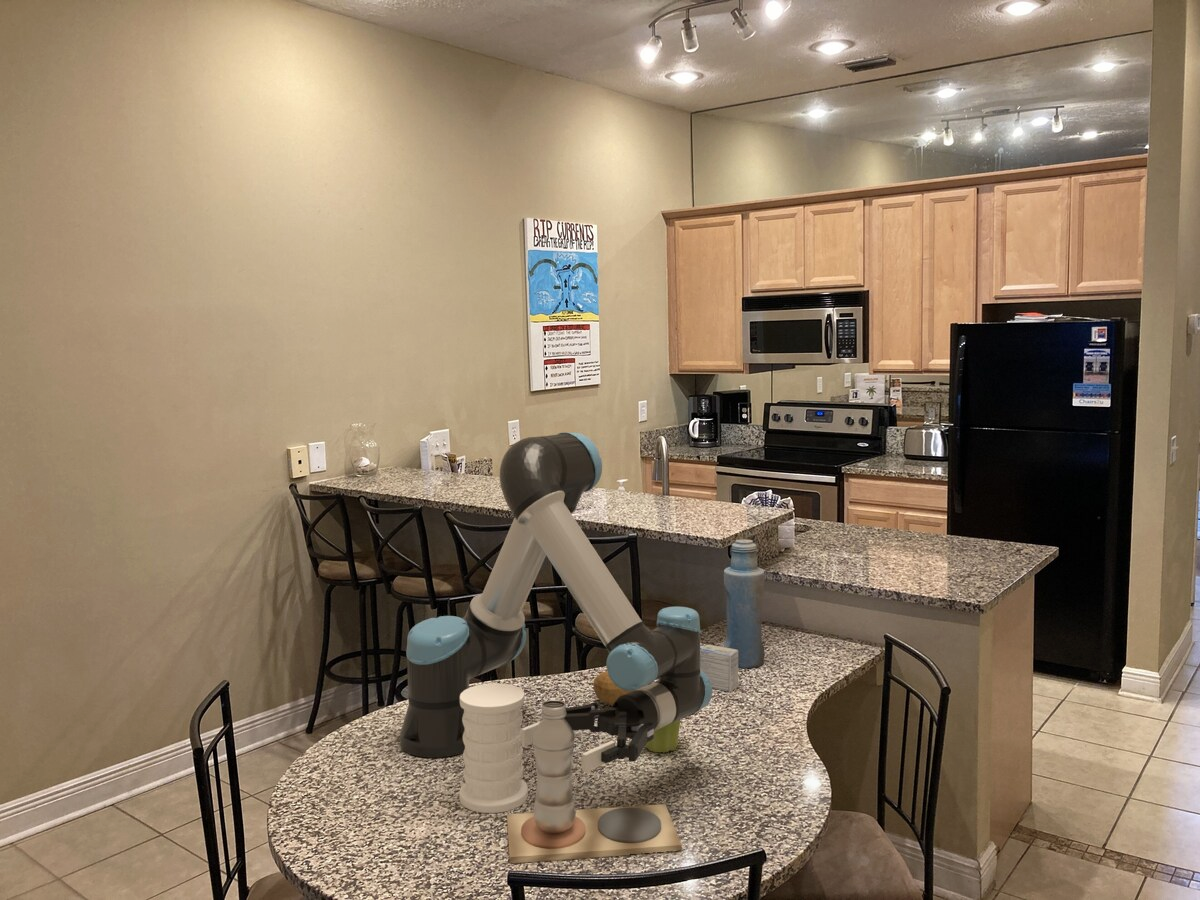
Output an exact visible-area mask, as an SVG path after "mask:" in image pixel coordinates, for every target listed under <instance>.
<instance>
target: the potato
mask: <svg viewBox="0 0 1200 900" xmlns="http://www.w3.org/2000/svg"><path fill="white" fill-rule="evenodd" d="M592 686H593V690H594V693H595V696H596V698H597V699H598V700H599V701H600V702H602V703H604V704H606V705H610V706H611V707H612V706H613V704H614V703H615V701H616V700H617V698H618V697H620V696H622V695H624V694H627V693H629V692H632V691H627V690H623V689H621V688H619V687H617V686H616V685H615V684H614V683H613V682H612V681H611V679H610V677H609V675H608V670H605V671H602V672H601V673H599V674H597V675H596V677H595V678H594V680H593V684H592ZM643 687H644V686H643ZM633 691H635V690H633Z"/></svg>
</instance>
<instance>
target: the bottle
mask: <svg viewBox="0 0 1200 900" xmlns="http://www.w3.org/2000/svg"><path fill="white" fill-rule="evenodd" d="M757 550H758V548H757V544H756V543H754V541H753V540H752V539H736V540H735V541H734V543H732V544H731V558H730V566H728V567H726V568H725V569H724V570H723V586H724V588H725V592H726V633H725V634H726V635H725V637H724V638H725V639H724V642H723V647H725V648H731V649H736V650H738V669H753V668H759V667H760V666H762V665H763V664H764V661H765V647H764V645H763V640H762V639H763V638H762V634H763V633H762V631H763V630H762V619H763V618H762V613H763V612H762V611H763V610H762V605H763V604H762V600H763V594H764V590H765V570H764V569H763V568H761V567H759V566H758V558H757Z"/></svg>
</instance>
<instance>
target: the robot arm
mask: <svg viewBox="0 0 1200 900" xmlns="http://www.w3.org/2000/svg"><path fill="white" fill-rule="evenodd" d="M602 462H603V461H602V458H601V456H600V453H599V449H598V448H597V446H596V444H595V443H594V442H593V441H592V440H591V439H590V438H589V437H587V436H586V435H585V434H582V433H578V432H567V431H563V432H559V433H557V434H551V435H541V436H529V437H525V438H522V439H519V440H518V441H516V442H515V443H513V444H512V445H511V446H510V447H509V448H508V449H507V451H506V453H505V454H504V456H503V457H502V460H501V463H500V467H499V484H500V488H501V491H502V494H503V499H504V500H505V502H506V505H507V507H508V509H509V510H510V511H511V513H512V515H513V517H514V518H513V520H512V523H511V525H510V527H509V530H508V533H507V535H506V537H505V540H504V542H503V544H502V546H501V548H500V551H499V554H498V556H497V558H496V561H495V562H494V565H493V568H492V570H491V572H490V574H489V577H488V579H487V582H486V584H485V586H484V589H483V591H482V593H480V594H477V595H475V596H473V598H472V599H471V601H470V603H469V605H468V607H467V610H466V612H465V615H464V616H463V617H459V616H454V615H443V616H442V615H440V616H438V617H430V618H428V619H425V620H421V622H418V623H416V624H415V625H414V626H412V628H411V629H410V630H409V632H408V634H407V640H406V641H407V642H406V643H407V645H406V650H405V653H406V663H407V664H406V666H407V668H406V669H407V670H406V671H407V672H406V673H407V693H408V697H407V699H408V705H407V709H406V712H405V715H404V719H403V722H402V726H401V729H400V733H399V742H400V743H399V744H400V748H401V749H402V750H403V751H404V752H405V753H407V754H409V755H412V756H415V757H421V758H431V759H432V758H433V759H435V758H447V757H451V756H456V755H460V754H463V753H464V749H465V745H464V742H463V733H464V731H465V729H464V725H463V722H462V717H463V714H464V709H463V708H462V707H461V706H460V694H461V693H462V692H463V691H464V690H466V689H468V688H470V680H471V679H474V678H476V677H478V676H480V675H483V674H485V673H488V672H490V671H492V670H495V669H498V668H501V667H504V666H505V665H507V664H509V663H511V661H513V660H514V659H516V658H518V656H519V655H521V652H522V651H523V649H524V647H525V644H526V641H527V631H526V630H525V628H526V623H525V620H526V619H525V614H524V612H523V608H524V607H525V604H526V602H527V600H528V596H529V595H530V593H531V590H532V589H533V585H534V584H535V580H537V577H538V574H539V572H540V570H541V568H542V566H543V564H544V561H545V558H546V557H547V559H548V560H549V562H550V563H551V565H552V566H553V568H554V570H555V571H556V573H557V574H558V575H559V577H560V578H561V580H562V582H563V583H564V586H566V588H567V589H568V591H569V592H570V595H571V596H572V597H573V599H574V600H575V602H576V604H577V605H578V606H579V608H580V610H581V612H582V613H583V615H585V618H586V619H587V621H588V622H589V624H590V625H591V627H592V629H593V630H594V631H595V632H596V635H597V636H598V638H599V639H600V641H601V642H602V644H603V645H604V647H605V649H606V651H608V655H607V659H606V663H605V664H606V669H607V670H608V675H609V677H610V679H611V681H612V682H613V683H614V684H615V685H616V686H617V687H619V688H621V689H623V690H627V691H632V692H629V693H627V694H624V695H622V696H620V697H618V698H617V700H616V701H615V703H614V704H613V706H612V705H611V706H610V707H605V708H602V709H601V708H599V703H598V702H591V703H587V704H585V705H576V706H570V707H569V706H568V707H566V717H565V720H566V721H567V723H568V724H569V725H570V727H571V728H572V730H573V731H590V732H591V733H606V734H608V735H609V736H612V737H613V736H615V737H616V736H617V738H616V742H615V740H610V741H608V742H606V743H603V744H600V745H599V746H597V747H594V748H592V749H590V750H588V751H585V752H583V753H581V771H582V772H583V773H585V774H587V773H588V772H590V771H592V770H595V769H596V768H599V767H602V766H603V765H605V764H610V763H612V762H613V761H616V760H617V759H618V760H624V759H625V758H628V761H629V762H636V761H637V760H638V758H639V756H640V755H641V753H642V752H643V750H644V748H646V747H645V745H646V744H647V742H649V741H651V740H652V739H654V731H656V730H658V729H660V728H662V727H664V726H666V725H669V724H671V723H674V722H676V721H678V720H680V719H681V720H682V719H685V718H687V717H692V716H693V715H695V714H696V713H698V712H700V711H702V709H704V708H706V707H707V706H708V705H709V704H710V702H711V700H712V697H713V688H712V686H711V685H710V682H709V678H708V677H707V675H706V674H705V673H704V672H703V671H701V670H700V649H701V633H702V631H701V623H700V621H701V620H700V615H699V612H698V611H697V610H695V609H693V608H690V607H687V606H668V607H663V608H662V609H660V610H659V611H658V612H657V617H656V618H657V619H656V622H655V623H656V627H655V628H654V629H651V630H650V631H649V629H648V628H647V626H646V625H645V624H644V622H643V620H642V619H641V618H640V616H639V614H638V613H637V612H636V610H635V608H634V606H632V604H631V602H630V600H629V599H628V597H627V596H626V595H625V593H624V592H623V589H621V588H620V586H619V584H618V582H617V581H616V580H615V578H614V576H613V575H612V574H611V572H610V571H609V569H608V567H607V566H606V564H605V563H604V561H603V560H602V558H601V557H600V555H599V554H598V552H597V550H596V549H595V547H594V546H593V544H591V542H590V539H589V538H588V537H587V536H586V534H585V532H584V531H583V530H582V528H581V526H580V525H579V523H578V522H577V520H576V519H575V517H574V516H573V513H574V512H576V509H577V507H578V504H579V502H580V500H581V498H582V496H583V494H584V493H586V492H589V491H590V490H592V489H593V488H595V487H596V486H597V485H598V483H599V481H600V479H601V476H602V473H603V463H602ZM607 670H606V671H607ZM643 686H644V687H643ZM633 690H635V691H633ZM596 719H597V726H595V721H596ZM541 721H542V720H540V721H538V722H536V723H533V724H530V725H528V726H524V727H523V728H522V727H521V736H522V742H521V747H522V746H523V747H527V746H530V745H533V734H534V730H535V729H536V727H537V726H538V724H539V723H540V722H541ZM627 739H629V740H630V741H629V743H628V744H627Z"/></svg>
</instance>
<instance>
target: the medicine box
mask: <svg viewBox="0 0 1200 900" xmlns="http://www.w3.org/2000/svg"><path fill="white" fill-rule="evenodd" d="M700 670H701V671H703V672H704V673H705V674H706V675H707V677H708V678H709V682H710V685H711V686H712V690H713V689H714V690H719V691H723V692H729V693H731V692H733V690H736V688H737V687H739V668H738V650H736V649H731V648H725V647H724V646H718V645H713V644H706V645H704V646H702V647H700Z"/></svg>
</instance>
